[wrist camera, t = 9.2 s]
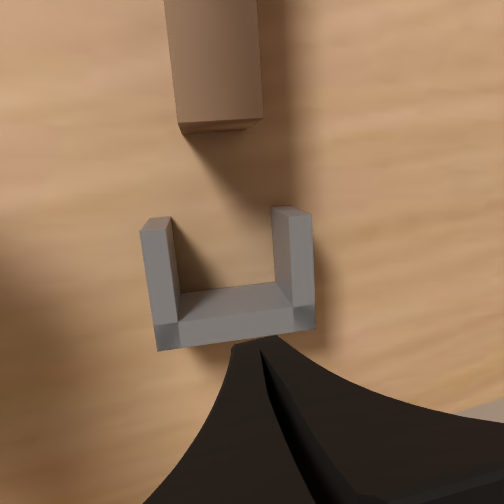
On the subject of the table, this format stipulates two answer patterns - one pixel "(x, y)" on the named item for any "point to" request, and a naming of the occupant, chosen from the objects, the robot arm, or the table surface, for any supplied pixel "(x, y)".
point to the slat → (215, 64)
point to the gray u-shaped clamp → (232, 289)
